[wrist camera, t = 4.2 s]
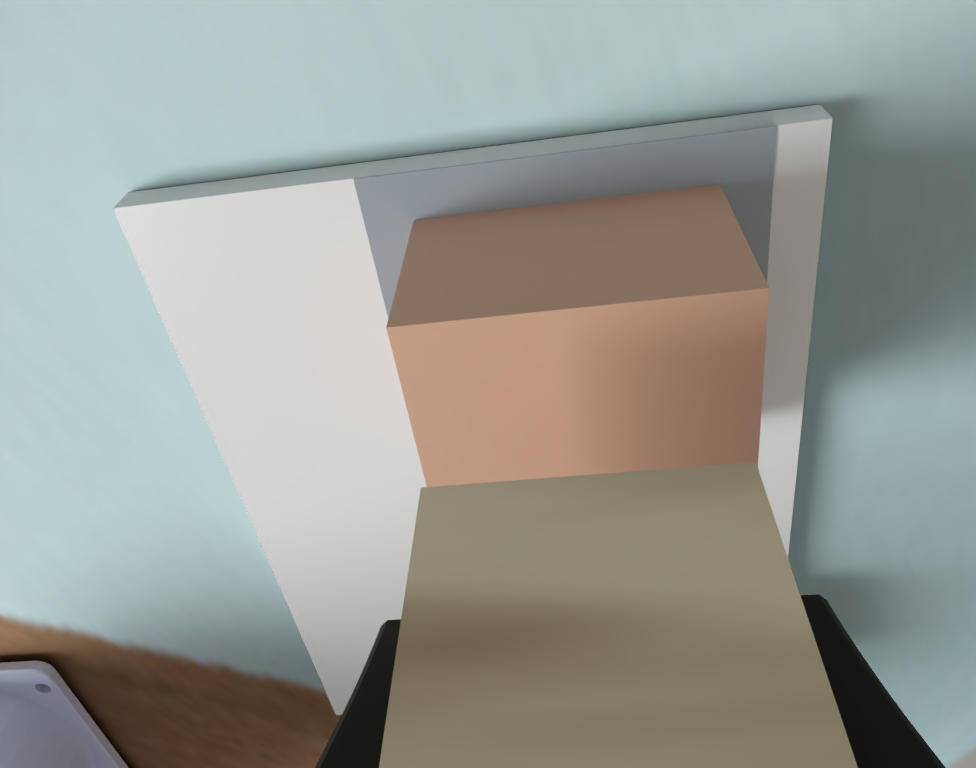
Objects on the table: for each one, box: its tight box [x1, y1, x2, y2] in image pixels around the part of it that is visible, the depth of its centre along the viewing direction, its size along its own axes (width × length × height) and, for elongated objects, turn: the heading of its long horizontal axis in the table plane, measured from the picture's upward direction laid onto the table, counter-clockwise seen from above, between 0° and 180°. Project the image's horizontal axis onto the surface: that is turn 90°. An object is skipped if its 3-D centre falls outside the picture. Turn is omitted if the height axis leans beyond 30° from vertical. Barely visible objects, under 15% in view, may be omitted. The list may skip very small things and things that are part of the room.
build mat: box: [113, 105, 833, 715], centre depth 21 cm, size 18×14×1 cm
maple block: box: [379, 462, 858, 768], centre depth 11 cm, size 4×4×4 cm
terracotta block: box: [386, 184, 769, 487], centre depth 16 cm, size 6×6×4 cm
